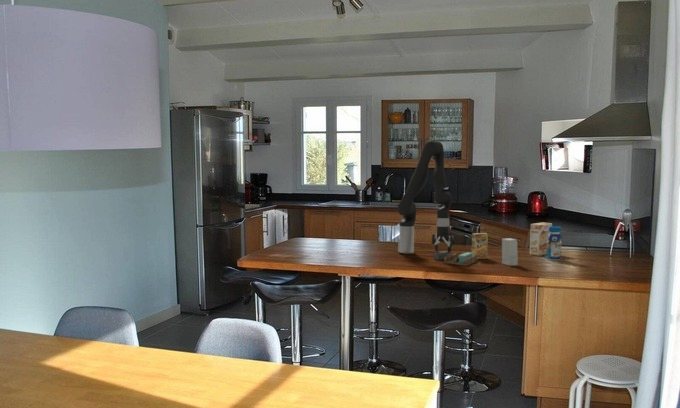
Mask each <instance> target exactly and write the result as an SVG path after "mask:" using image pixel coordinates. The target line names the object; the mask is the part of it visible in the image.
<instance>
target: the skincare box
mask: <svg viewBox="0 0 680 408" xmlns="http://www.w3.org/2000/svg"><path fill="white" fill-rule="evenodd" d="M518 255H519V253H518V239H516V238H511V237H510V238H509V237H508V238H506V237H505V238H502V239H501V258H502V259H501V264H503V265H507V266H518V261H519V260H518V259H519V258H518Z"/></svg>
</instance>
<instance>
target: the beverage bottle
mask: <svg viewBox="0 0 680 408" xmlns="http://www.w3.org/2000/svg"><path fill="white" fill-rule="evenodd" d="M561 229H562V227H561V226H558V225H557V226H555V225H552V226H550V227H549V232H550V233H549V235H548V237H547V239H548V240H547V254H546V260H548V261H553V262H554V261H556V262H557V261H561V260H562V244H563V242H562V239H563V238H562V235H561Z"/></svg>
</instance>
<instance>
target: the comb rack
mask: <svg viewBox="0 0 680 408" xmlns="http://www.w3.org/2000/svg"><path fill="white" fill-rule="evenodd" d="M443 260H444V261H443V264H447V265H449V264H450V265H454V266H455V265H456V266H466V267H467V266H469V265H471V264H474V263H477V261H478V259H477V255H474V256H471V257H469V258H467V259H464V263H462V262H459V256H458V252H454V253H453V254H449V256H447V257H444V259H443Z"/></svg>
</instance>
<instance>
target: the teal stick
mask: <svg viewBox="0 0 680 408" xmlns="http://www.w3.org/2000/svg"><path fill="white" fill-rule="evenodd" d="M471 256H472V252H468V251H467V252H463V253H461V254H459V255H458V257H459V262H462V263H464V259H467V258H469V257H471Z"/></svg>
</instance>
